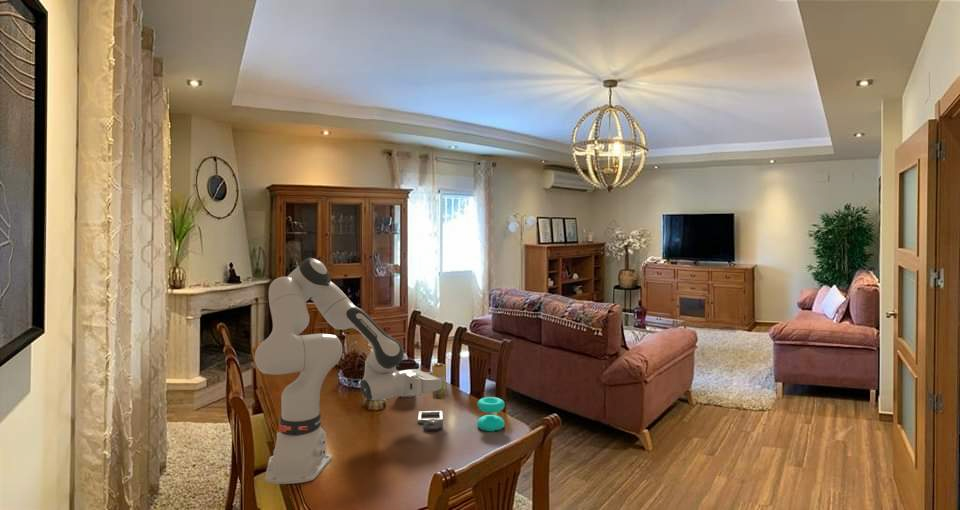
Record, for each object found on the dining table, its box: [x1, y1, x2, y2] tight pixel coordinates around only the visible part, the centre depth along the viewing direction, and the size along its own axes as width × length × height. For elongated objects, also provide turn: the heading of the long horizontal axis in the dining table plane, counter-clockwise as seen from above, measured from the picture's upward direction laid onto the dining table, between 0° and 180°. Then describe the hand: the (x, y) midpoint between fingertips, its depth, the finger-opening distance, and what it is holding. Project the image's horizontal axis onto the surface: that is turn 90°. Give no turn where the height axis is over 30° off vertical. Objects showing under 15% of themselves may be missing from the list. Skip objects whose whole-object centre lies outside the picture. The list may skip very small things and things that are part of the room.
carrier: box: [422, 417, 444, 433], centre depth 191 cm, size 12×7×2 cm, turn 5°
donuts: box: [476, 396, 506, 432], centre depth 190 cm, size 10×10×10 cm
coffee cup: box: [395, 358, 420, 399], centre depth 225 cm, size 10×10×15 cm
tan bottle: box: [431, 362, 447, 400], centre depth 195 cm, size 5×5×13 cm
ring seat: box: [417, 410, 444, 425], centre depth 198 cm, size 9×9×1 cm
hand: (439, 376), depth 196 cm, fingers closed on tan bottle, 5 cm apart
